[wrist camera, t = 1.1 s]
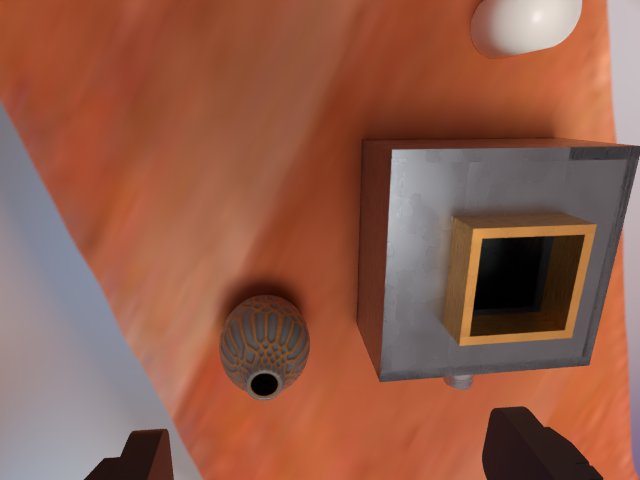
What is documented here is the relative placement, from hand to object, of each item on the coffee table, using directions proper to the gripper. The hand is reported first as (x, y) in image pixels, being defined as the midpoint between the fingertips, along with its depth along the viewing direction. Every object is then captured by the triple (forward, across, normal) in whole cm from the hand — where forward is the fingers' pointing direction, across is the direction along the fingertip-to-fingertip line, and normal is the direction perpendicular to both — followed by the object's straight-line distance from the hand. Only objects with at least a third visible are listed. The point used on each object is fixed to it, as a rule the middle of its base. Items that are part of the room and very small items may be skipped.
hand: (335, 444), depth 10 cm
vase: (+24, +2, +10) cm, 25 cm away
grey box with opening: (+23, -14, +4) cm, 27 cm away
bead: (+23, -15, -14) cm, 31 cm away
